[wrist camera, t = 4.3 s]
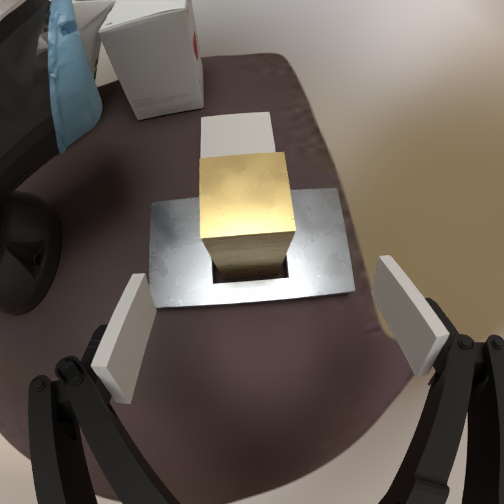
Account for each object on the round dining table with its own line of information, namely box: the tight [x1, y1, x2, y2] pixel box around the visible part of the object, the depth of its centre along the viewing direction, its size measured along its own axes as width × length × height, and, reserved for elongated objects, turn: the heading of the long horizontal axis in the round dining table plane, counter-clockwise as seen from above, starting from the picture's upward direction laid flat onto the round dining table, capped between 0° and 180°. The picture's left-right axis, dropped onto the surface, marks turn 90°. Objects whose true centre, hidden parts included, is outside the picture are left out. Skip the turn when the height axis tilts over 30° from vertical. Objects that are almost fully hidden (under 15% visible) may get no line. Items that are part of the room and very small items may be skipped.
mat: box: [201, 112, 276, 158], centre depth 30 cm, size 8×8×1 cm
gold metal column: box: [200, 152, 296, 279], centre depth 21 cm, size 5×5×12 cm
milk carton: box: [72, 0, 115, 80], centre depth 23 cm, size 9×9×20 cm
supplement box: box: [98, 0, 204, 120], centre depth 26 cm, size 9×9×15 cm
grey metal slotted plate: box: [149, 188, 355, 309], centre depth 26 cm, size 18×10×2 cm, turn 95°
